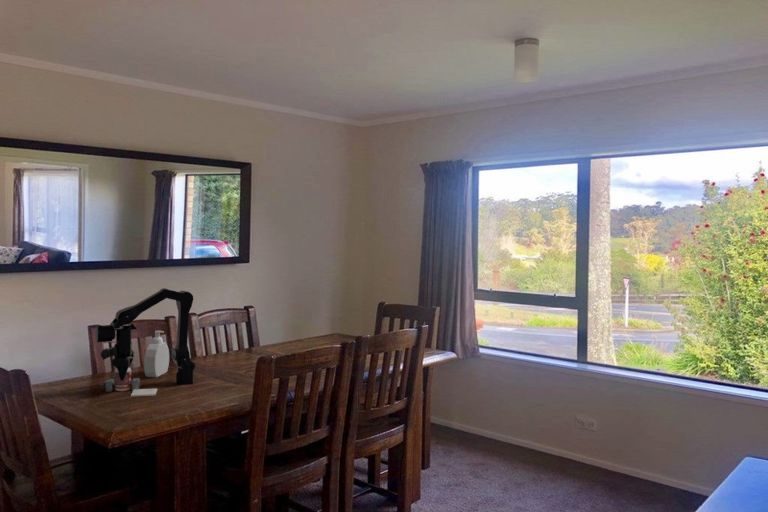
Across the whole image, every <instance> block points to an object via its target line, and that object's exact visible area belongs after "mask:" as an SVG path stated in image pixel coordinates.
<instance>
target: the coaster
mask: <svg viewBox="0 0 768 512" xmlns="http://www.w3.org/2000/svg"><path fill="white" fill-rule="evenodd" d="M157 391H158V388H139V389H134V390H133V391H132V393H131V394H130V397H132V398H133V397H134V398H135V397H151V396H152V397H153V396H156V395H157Z"/></svg>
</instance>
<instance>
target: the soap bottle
mask: <svg viewBox="0 0 768 512" xmlns="http://www.w3.org/2000/svg"><path fill="white" fill-rule="evenodd" d="M164 333H165V331H164V330H154V337H153V338H152V340H151V343H149V344H148V346H147V348H146V351H145V354H144V362H143V367H144V374H145V377H146V378H159V377H160V376H162V375H164V374H165V373H167V372H168V370H169V364H170V350H169V346H168V345H167V343H166V342H165V341H163V338H162V337H161V334H164Z"/></svg>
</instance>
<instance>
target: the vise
mask: <svg viewBox="0 0 768 512" xmlns="http://www.w3.org/2000/svg"><path fill="white" fill-rule="evenodd" d="M140 379H141V378H140V377H133V379H131V391H132V392H133V390H134V389H141V380H140ZM98 388H105V392H106V393H107V392H108V393H109V392H113V391H114V390H115V378H108V379H107V380H106V381H105V382H99V383H98Z"/></svg>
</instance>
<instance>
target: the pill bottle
mask: <svg viewBox="0 0 768 512" xmlns="http://www.w3.org/2000/svg"><path fill="white" fill-rule="evenodd" d="M131 382H132V368H131V366H130V367H129V368H128V370H127V373H126V375H125V378H124V380H122V381H121V380H120V376H119V372H118V369H117V368H116V367H115V369H114V383H115V388H114V390H115V391H116V392H126V391H130V390H132V387H131Z"/></svg>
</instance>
